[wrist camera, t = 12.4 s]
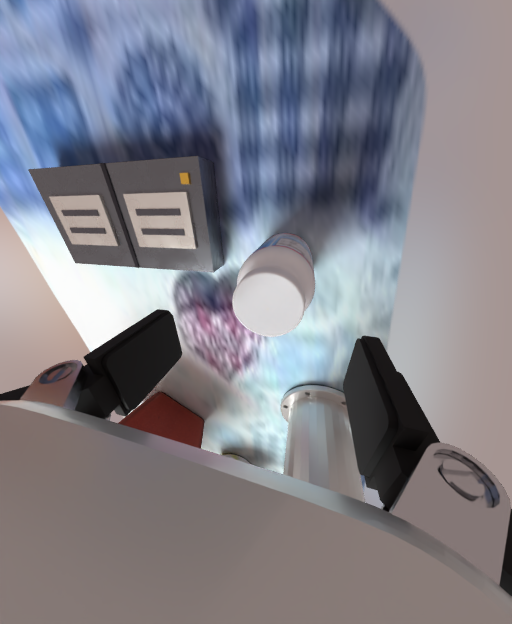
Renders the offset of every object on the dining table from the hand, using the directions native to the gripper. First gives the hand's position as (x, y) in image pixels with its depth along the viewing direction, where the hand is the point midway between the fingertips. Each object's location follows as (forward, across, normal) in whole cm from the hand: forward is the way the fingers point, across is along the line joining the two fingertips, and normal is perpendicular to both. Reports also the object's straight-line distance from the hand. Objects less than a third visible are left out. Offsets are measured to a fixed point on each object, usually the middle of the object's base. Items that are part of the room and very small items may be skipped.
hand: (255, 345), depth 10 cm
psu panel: (+14, +18, -5) cm, 23 cm away
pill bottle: (+14, 0, -1) cm, 14 cm away
